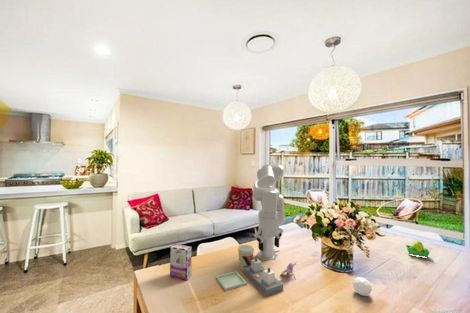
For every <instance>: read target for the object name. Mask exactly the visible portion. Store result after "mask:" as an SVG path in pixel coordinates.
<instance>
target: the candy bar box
mask: <svg viewBox="0 0 470 313" xmlns="http://www.w3.org/2000/svg"><path fill="white" fill-rule="evenodd" d="M169 248H170V250H169V251H170V252H169V253H170V254H169V260H170V262H169V277H171V278H175V279H179V280H183V281H188V280H189V278H190V277H191V276H192V250H193V249H192V248H193V247H192V246H190V245H189V246H188V245H184V244H177V243H176V244H173V245H172V246H170V247H169Z"/></svg>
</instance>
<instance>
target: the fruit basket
mask: <svg viewBox="0 0 470 313" xmlns="http://www.w3.org/2000/svg"><path fill="white" fill-rule="evenodd" d="M405 247H406V250H407V253H408V252H409V253H408V255H409V254H413V255H419V256H425V257H429V255H430V253H431V252H430V251H429V250H428V248H424V245H423V243H422V242H421V241H419V240H418V241H415V242H414V243H413V244H412V245H408V244H407V245H405Z"/></svg>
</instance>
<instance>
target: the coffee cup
mask: <svg viewBox="0 0 470 313" xmlns="http://www.w3.org/2000/svg"><path fill="white" fill-rule="evenodd" d="M237 250H238V266H239V270H240V271H244V268H245V267H249V266H251V260H254V252H255V250H254V247H253V246H251V245H247V244H244V245H239V247H238V249H237Z"/></svg>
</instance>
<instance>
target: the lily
mask: <svg viewBox="0 0 470 313" xmlns="http://www.w3.org/2000/svg"><path fill="white" fill-rule="evenodd" d="M297 263H298V261H296V262H294V263H292V262H290V263H288V265H286V266H287V267H286V269H284V270H283V271H282V272H281V274H280V276H282V275H283V274H285V273H287V274H292V276H293V278H294V279H295V280H296V276H295V275H294V273H293V270H294V267H295V266H296V265H297Z"/></svg>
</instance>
